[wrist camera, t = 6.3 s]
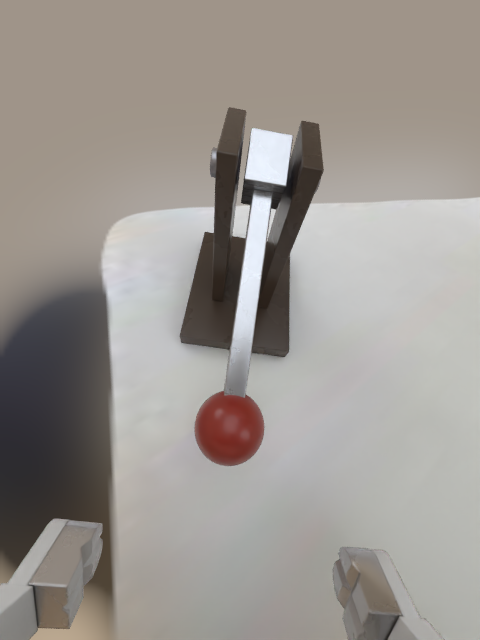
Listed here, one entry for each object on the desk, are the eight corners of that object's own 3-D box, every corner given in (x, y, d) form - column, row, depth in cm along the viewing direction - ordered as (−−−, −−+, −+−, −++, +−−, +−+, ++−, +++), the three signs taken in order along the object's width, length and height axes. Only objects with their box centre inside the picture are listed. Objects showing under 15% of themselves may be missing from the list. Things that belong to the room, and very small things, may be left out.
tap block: (284, 357, 22) (380, 236, 10) (181, 342, 21) (147, 197, 9) (286, 254, 28) (347, 99, 16) (204, 241, 27) (203, 71, 15)
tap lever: (254, 449, 15) (264, 486, 11) (193, 442, 15) (184, 477, 11) (291, 174, 16) (310, 127, 12) (235, 164, 16) (238, 114, 12)
